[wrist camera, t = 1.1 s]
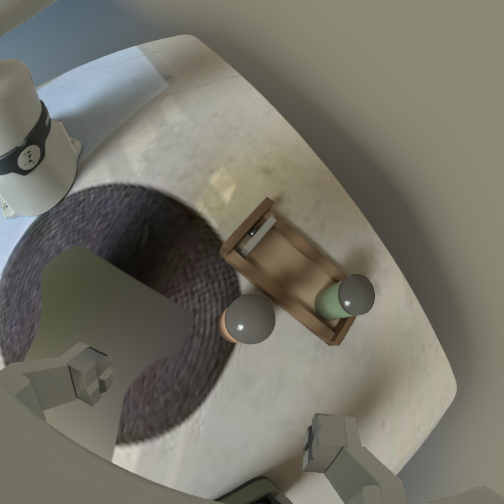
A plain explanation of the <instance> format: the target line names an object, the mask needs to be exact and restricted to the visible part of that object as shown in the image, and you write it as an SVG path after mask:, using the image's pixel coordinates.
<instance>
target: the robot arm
mask: <svg viewBox="0 0 504 504" xmlns="http://www.w3.org/2000/svg"><path fill="white" fill-rule="evenodd" d="M56 1H57V0H0V37H1V36H2V35H4V34H6V33H7V32H9V31H11V30H12V29H14V28H16V27H17V26H19V25H21V24H23V23H25V22H26V21H27V20H29V19H30V18H32V17H33V16H35V15H36V14H37V13H39V12H40V11H42V10H44V9H45V8H46V7H48V6H50V5H51V4H53V3H54V2H56ZM81 150H82V144H81V143H80V141H78V140H76V139H74V138H72V137H71V136H69V135H67V132H66V130H65V128H64V126H63V124H62V123H61V122H58V121H56V120H54V119H50V116H49V112H48V110H47V107H46V106H45V105H44V103H43V101H42V100H40V99H39V97H38V94H37V91H36V88H35V86H34V83H33V80H32V77H31V74H30V71H29V68H28V67H27V66H26V65H25V63H23V62H21V61H19V60H14V59H5V60H0V202H1V206H2V210H3V214H4V216H5V217H6V218H7V219H11V218H14V217H17V216H27V217H32V216H37V215H40V214H43V213H45V212H46V211H48V210H50V209H51V208H53V207H54V206H55V205H56V204H57V203H58V202H59V201H60V200H61V199H62V198H63V197H64V196H65V195H66V193H67V192H68V190H69V189H70V187H71V185H72V183H73V181H74V178H75V175H76V170H77V158H78V156H79V154H80V152H81ZM7 207H8V208H7ZM111 364H112V363H111V358H110V357H109V356H108V355H106V354H104V353H102V352H100V351H98V350H96V349H94V348H92V347H90V346H88V345H86V344H84V343H78V344H77V345H75V346H74V347H72V348H71V349H70V350H68V351H67V352H66V353H64V354H63V355H62V356H60V357H59V358H58V359H56V358H48V359H41V360H33V361H26V362H17V363H11V364H9V365H8V366H6V367H5V368H3V369H2V370H1V371H0V504H224V503H220V502H216V501H212V500H208V499H204V498H201V497H197V496H194V495H190V494H187V493H184V492H181V491H178V490H175V489H172V488H169V487H166V486H164V485H161V484H158V483H156V482H153V481H151V480H148V479H146V478H144V477H141V476H139V475H137V474H134V473H132V472H130V471H128V470H126V469H124V468H121V467H119V466H117V465H115V464H113V463H111V462H110V461H108V460H106V459H104V458H102V457H100V456H98V455H97V454H95V453H93V452H91V451H89V450H88V449H86V448H84V447H83V446H81V445H79V444H78V443H76V442H75V441H73V440H71V439H70V438H68V437H67V436H66V435H64V434H63V433H61V432H60V431H58V430H57V429H55V428H54V427H53V426H51V425H50V424H49V423H47V422H46V418H45V416H44V413H43V410H46V409H49V408H53V407H56V406H59V405H61V404H65V403H68V402H71V401H73V400H76V399H79V400H81V401H83V402H85V403H87V404H89V405H90V406H94V405H95V404H96V403H97V402H98V401H99V399H100V398H101V393H103V392H107V390H108V389H109V388H110V387H111V385H112V382H113V372H112V370H111V369H110V367H109V366H110V365H111ZM303 449H304V451H305V452H306V453H305V455H304V457H303V471H308V472H319V473H324V474H325V476H326V477H327V479H328V480H329V482H330V483H331V485H332V486H333V488H334V489H335V491H336V492H337V493H338V495H339V496H340V498H341V499H342V500H343V502H344V503H345V504H407V499H406V495H405V491H404V486H403V482H402V481H401V480H400V479H399V478H398V477H396V476H395V475H394V474H393V473H392V472H391V471H390V470H389V469H388V468H387V467H385V466H384V465H383V464H382V463H381V462H380V461H379V460H378V459H377V458H376V457H375V456H374V455H373V454H372V453H371V452H369V451H368V450H367V449H366V448H365V447H361V442H360V437H359V432H358V427H357V422H356V418H355V417H354V416H340V415H328V414H318V413H316V414H315V415H314V417H313V419H312V425H311V426H310V427H308V429H307V431H306V434H305V437H304V443H303ZM424 504H504V497H503V496H501V495H500V494H499V493H497V492H496V491H494V490H492V489H490V488H489V487H486V486H479V487H475V488H473V489H470V490H467V491H465V492H462V493H459V494H456V495H453V496H449V497H446V498H443V499H439V500H435V501H432V502H428V503H424Z"/></svg>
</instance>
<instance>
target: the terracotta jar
mask: <svg viewBox="0 0 504 504" xmlns="http://www.w3.org/2000/svg"><path fill="white" fill-rule="evenodd" d="M274 327H275V313H274V310H273V308H272V306H271V305H270V303H269V302H268V301H267V300H265V299H264V298H262V297H260V296H258V295H253V294H247V295H243V296H240V297H238V298H237V299H235V300H234V301H233V302H232V303H231V304H230V305H229V307H227V308H226V309H225V310H224V311H223V312H222V313H221V314H220V316H219V318H218V322H217V328H218V331H219V333H220V335H221V336H222V338H224V339H225V340H226V341H228V342H231V343H244V344H256V343H260V342H262V341H264V340H265V339H267V338H268V337H269V336H270V335H271V333H272V331H273V329H274Z"/></svg>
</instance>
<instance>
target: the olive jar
mask: <svg viewBox="0 0 504 504" xmlns="http://www.w3.org/2000/svg"><path fill="white" fill-rule="evenodd" d="M374 301H375V292H374V288H373V286H372V284H371V282H370V281H369V280H368V279H367V278H366V277H365V276H363V275H360V274H354V275H351V276H349V277H347V278H345V279H344V280H342V281H340V282H338V283H335V284H333V285H331V286H329V287H326V288H324V289H322V290H321V291H319V292H318V294H317V295H316V297H315V303H314V304H315V309H316V312H317V314H318V315H319V316H320V317H321V318H322V319H324V320H328V321H332V320H336V319H341V318H346V317H350V316H357V315H362V314H365V313H367V312H369V311H370V309H371V308H372V307H373V304H374Z"/></svg>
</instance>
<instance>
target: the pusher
mask: <svg viewBox="0 0 504 504" xmlns="http://www.w3.org/2000/svg"><path fill="white" fill-rule="evenodd" d="M276 221H277V220H276V219H275V218H274V217H272V216H271V217H270V218H269V219H268V220H267V221H266V222H265V223H264V225H263V226H262V227H261V228H260V229H259V230H258V231H256V230H255V229H254V228H252V229H251V230H250V231H249V233H248V234H247V235H249V236H250V237H251V239H250V240H249V242H248V243H247V244H246V245H245V246H244V247H243V249H242V251H241V252H240V254H239V255H241V256H242V257H243V258H244V259H245V258H246V257H247V256H248V255H249V253H250V252H251V251H252V250H253V249H254V248H255V246H256V245H257V244H258V243H259V242H260V241H261V239H262V238H263V237H264V236H265V235H266V234H267V232H268V231H269V230H270V229H271V228H272V226H273V225H274V224H275V222H276Z"/></svg>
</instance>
